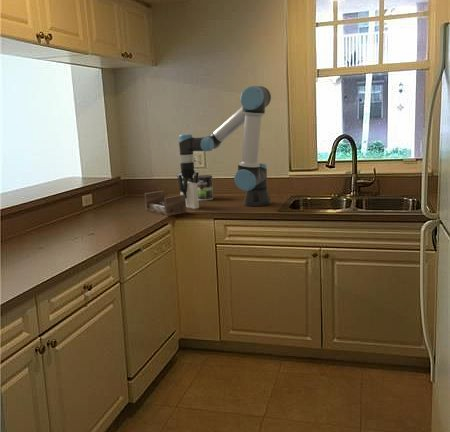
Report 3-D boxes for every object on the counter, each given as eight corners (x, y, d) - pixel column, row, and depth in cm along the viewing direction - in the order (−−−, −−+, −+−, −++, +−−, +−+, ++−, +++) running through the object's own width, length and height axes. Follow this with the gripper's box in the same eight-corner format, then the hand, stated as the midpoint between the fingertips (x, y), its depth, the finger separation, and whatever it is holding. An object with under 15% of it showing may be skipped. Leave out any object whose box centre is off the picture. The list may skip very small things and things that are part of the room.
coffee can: (210, 200, 315) (209, 177, 312) (194, 200, 318) (192, 177, 315) (215, 197, 325) (214, 174, 322) (199, 197, 328) (198, 175, 325)
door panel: (198, 208, 294) (197, 183, 291) (193, 208, 292) (192, 184, 290) (185, 204, 305) (183, 181, 303) (180, 205, 304) (179, 181, 301)
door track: (186, 212, 284) (185, 195, 282) (167, 216, 277) (165, 198, 275) (164, 206, 303) (162, 190, 301) (145, 210, 296) (144, 193, 294)
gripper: (195, 160, 301) (197, 200, 306) (171, 163, 292) (174, 204, 297) (202, 160, 295) (205, 202, 300) (178, 163, 286) (181, 206, 291)
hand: (189, 203), depth 299 cm, fingers closed on door panel, 3 cm apart
